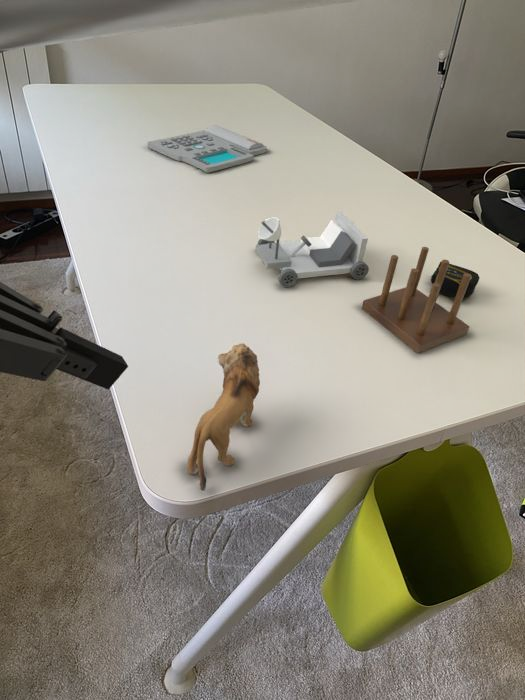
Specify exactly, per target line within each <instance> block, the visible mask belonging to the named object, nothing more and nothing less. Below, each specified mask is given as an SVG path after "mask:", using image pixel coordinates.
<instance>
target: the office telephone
mask: <svg viewBox="0 0 525 700" xmlns="http://www.w3.org/2000/svg"><path fill="white" fill-rule="evenodd" d="M146 145H147V148H149V149H151V150H153V151H155V152H157V153H160V154H162V155H164V156H166V157H168V158H171V159H172V160H175V161H178V162H184V163H187V164H188V165H191V166H193V167H195V168H198V169H200V170H201V171H204V173H212V172H216V171H220V170H223V169H228V168H231V167H235V166H239V165H243V164H247V163H250V162H252V161H254V156H258V155H262V154H266V153H267V152H268V151H267V150H268V147H267V145H264V144H263V143H262V142H260V141H257V140H255V139H252V138H249V137H247V136H244V135H242V134H240V133H237V132H235V131H233V130H230V129H227V128H224V127H222V126H220V125H218V124H217V125H216V124H213V125H210V126H208V127H206V129H204V130H199V131H194V132H190V133H185V134H180V135H176V136H170V137H166V138H161V139H160V138H159V139H156V140H151V141H147V143H146Z"/></svg>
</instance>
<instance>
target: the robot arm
mask: <svg viewBox="0 0 525 700" xmlns="http://www.w3.org/2000/svg"><path fill="white" fill-rule="evenodd" d="M359 1H361V0H0V54H2V53H4V52H9V51H17V50H23V49H30V48H37V47H44V46H51V45H58V44H66V43H73V42H78V41H79V42H80V41H87V40H94V39H100V38H107V37H112V36H114V37H115V36H121V35H128V34H135V33H136V34H137V33H144V32H149V31H156V30H163V29H170V28H177V27H184V26H191V25H192V26H193V25H198V24H204V23H205V24H206V23H212V22H218V21H219V22H221V21H226V20H233V19H241V18H247V17H254V16H255V17H256V16H261V15H262V16H263V15H269V14H276V13H282V12H290V11H296V10H305V9H311V8H318V7H324V6H332V5H338V4H346V3H353V2H359ZM43 311H44V309H43V307H42V306H41V305H40V304H39V303H38V302H35V301H34V300H32V299H30V298H28V297H27V296H25V295H23V294H22V293H20V292H18V291H17V290H15V289H13V288H12V287H10V286H9V285H6V283H5V284H4V282H1V281H0V373H3V374H7V375H12V376H16V377H21V378H26V379H31V380H36V381H40V382H47V381H48V379H49V378H50V377H51V376H52V375H53V374H54V372H55V371H56V370H57V371H61V372H62V373H65V374H67V375H70V376H73V377H75V378H78V379H79V380H82V381H84V382H88V383H89V384H93V385H96V386H98V387H100V388H103V389H105V390H108V391H109V390H110V389H111V387H112V386H113V385H114V384H115V383H116V382H117V381H118V380H119V378H120V377H121V376H122V375H123V373H124V372H125V371H126V370H127V369H128V368H129V365H128V364H127V362H126V360H125V358H124V357H123V356H122V355H121V354H119V353H116V352H114V351H112V350H109V349H108V348H106V347H103V346H101V345H99V344H97V343H95V342H93V341H91V340H89V339H86V338H84V337H82V336H80V335H78V334H76V333H74V332H71V331H69V330H67V329H65V328H63V327H59V328H57V326H58V325H59V324H60V323H61V321H62V320H63V319H64V318H63V316H62V315H61V314H60V313H59V312H57V311H56V310H54V309H53V310H52V312H50V314H49V315H48V316H46V315H44V314H42V313H43Z"/></svg>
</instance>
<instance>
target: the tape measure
mask: <svg viewBox="0 0 525 700" xmlns="http://www.w3.org/2000/svg"><path fill="white" fill-rule="evenodd" d="M441 263H442V260H441V261H440V262H439V263H438V266H437V267H436V269H435V270H434V272H433V273H432V275H431V277H430V282H431V283H430V284H431V285H432V284H433V283H435V281H436V278H437V275H438V272H439V269H440V266H441ZM465 273H468V274H470V275H471V278H470V281H469V284H468V286H467V289H466V292H465V294H464V297H463V300H465V299H468V298H470V297H471V296H472V295H473V294H474V292H475V290H476V287H477V286H478V283H479V281H480V276H479V274H478V273H477V272H476V271H473V270H471V269H468V268H465V267H462V266H459V265H456V264H452V263H449V265H448V268H447V271H446V274H445V277H444V280H443V283H442V286H441V289H440V292H439V295H441V296H443V297H446V298H449V299H454V300H455V297H456V294H457V292H458V289H459V286H460V283H461V281H462V278H463V275H464V274H465Z"/></svg>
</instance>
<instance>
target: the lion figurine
mask: <svg viewBox="0 0 525 700" xmlns="http://www.w3.org/2000/svg"><path fill="white" fill-rule="evenodd" d="M217 359H218V364H219V366H220V367H222V371H223V382H222V390H221V391H222V392H221V395H220V396H219V397H218V398H217V400H216V402H215V403H214V407H212V408H211V409H209V410H208V411H206V412H204V414H202V415H201V417H200V418H199V421H198V422H197V425H196V427H195V430H194V437H193V445H192V448H191V452H190V454H189V456H188V458H187V470H186V471H187V473H188V474H191V475H195V474H197V473H198V476H199V484H198V485H199V488H200V490H201V491H206V487H207V477H206V475H205V471H204V450H205V447H206V442H207V441H210V442H211V443H212V445H213V446H214V448H215V449H216V450H217V461H218V462H219V463H221V464H223V465H224V466H227V467H229V466H232V465H234V463H235V457H234V456H233V455H230V454H227V452H228V450H229V449H228V448H229V446H230V434H231V431H230V430H231V429H232V428H233V427H235V426H236V425H237V424H238V423H239V422H240V420H241V423H242V425H243V426H244V427H252V426H253V425H254V421H253V419H252V414H253V412H254V401H255V399H256V398H257V396H258V394H259V393H260V384H261V379H260V368H259V362H258V355H257V354H255V352H254V351H253V350H252V349H251V348H250V347H249V346H247V344H245V343H238V344H234V345H233V346H232V347H231V349H230V350H229V351H228V352H226V353H225V352H224V353H220V354H218V356H217Z"/></svg>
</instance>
